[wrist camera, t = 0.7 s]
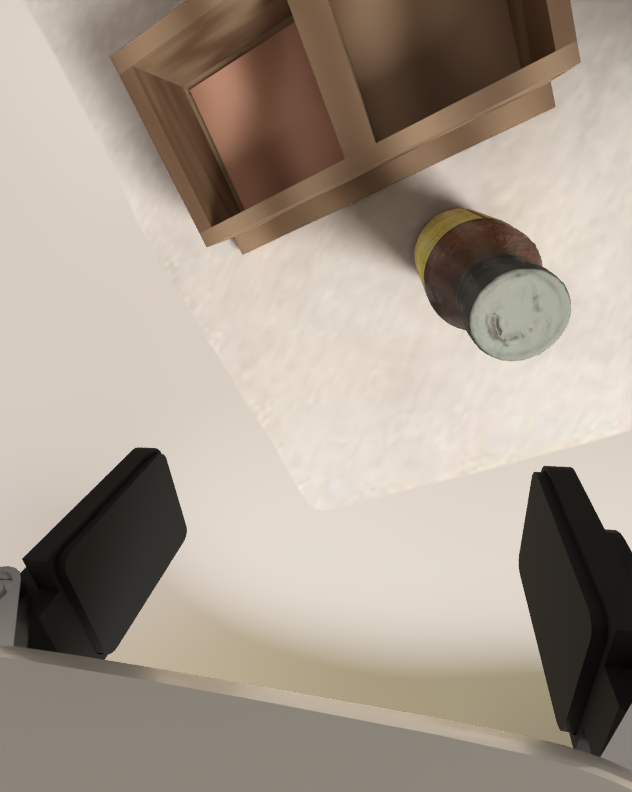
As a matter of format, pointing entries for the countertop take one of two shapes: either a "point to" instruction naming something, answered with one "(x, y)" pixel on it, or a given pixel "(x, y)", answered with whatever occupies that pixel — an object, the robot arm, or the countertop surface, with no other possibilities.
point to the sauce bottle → (491, 284)
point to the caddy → (331, 97)
